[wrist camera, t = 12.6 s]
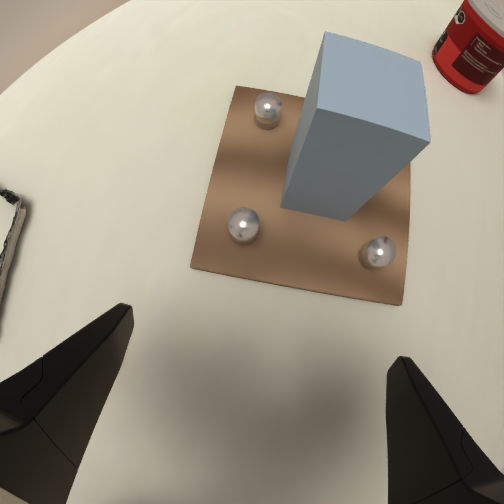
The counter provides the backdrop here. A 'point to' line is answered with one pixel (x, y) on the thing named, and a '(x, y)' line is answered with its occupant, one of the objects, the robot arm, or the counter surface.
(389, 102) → the slate blue block
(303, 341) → the counter surface
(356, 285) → the peg stand
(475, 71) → the canned food
